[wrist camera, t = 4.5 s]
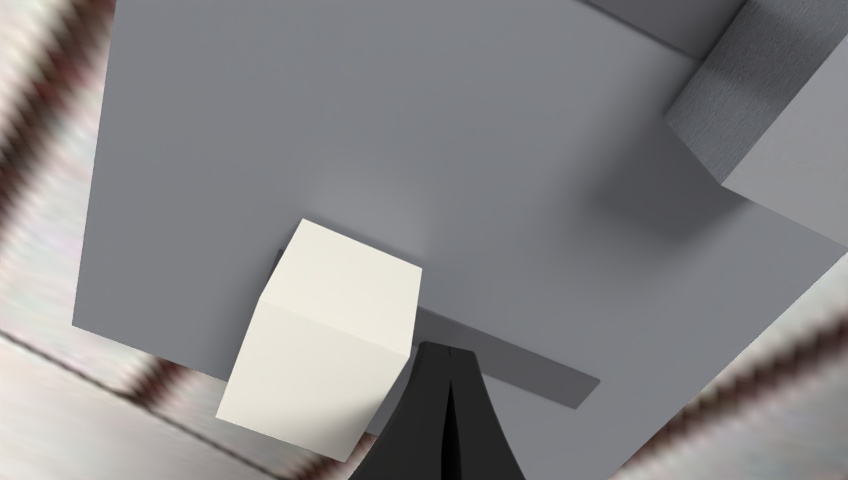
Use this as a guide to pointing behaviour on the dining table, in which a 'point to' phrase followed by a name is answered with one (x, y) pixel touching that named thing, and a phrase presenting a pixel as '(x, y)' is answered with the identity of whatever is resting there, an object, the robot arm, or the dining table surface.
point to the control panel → (442, 197)
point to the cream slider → (323, 343)
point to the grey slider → (776, 111)
